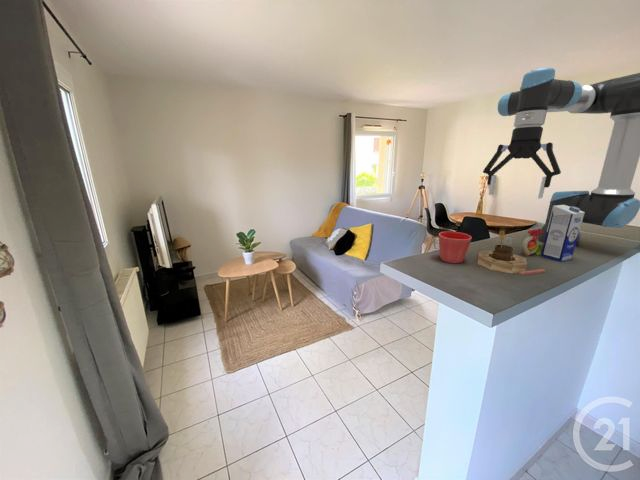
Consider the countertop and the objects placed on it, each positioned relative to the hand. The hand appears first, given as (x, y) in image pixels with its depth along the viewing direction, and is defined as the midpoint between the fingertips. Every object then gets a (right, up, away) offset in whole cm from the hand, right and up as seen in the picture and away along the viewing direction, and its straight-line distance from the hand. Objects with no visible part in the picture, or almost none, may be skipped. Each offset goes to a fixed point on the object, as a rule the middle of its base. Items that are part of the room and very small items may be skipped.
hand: (514, 196), depth 88 cm
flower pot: (-15, -22, +13) cm, 29 cm away
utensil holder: (0, -24, +7) cm, 25 cm away
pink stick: (+6, -26, 0) cm, 26 cm away
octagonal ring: (0, -24, +7) cm, 25 cm away
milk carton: (+26, -22, +14) cm, 37 cm away
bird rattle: (+19, -21, +17) cm, 33 cm away
